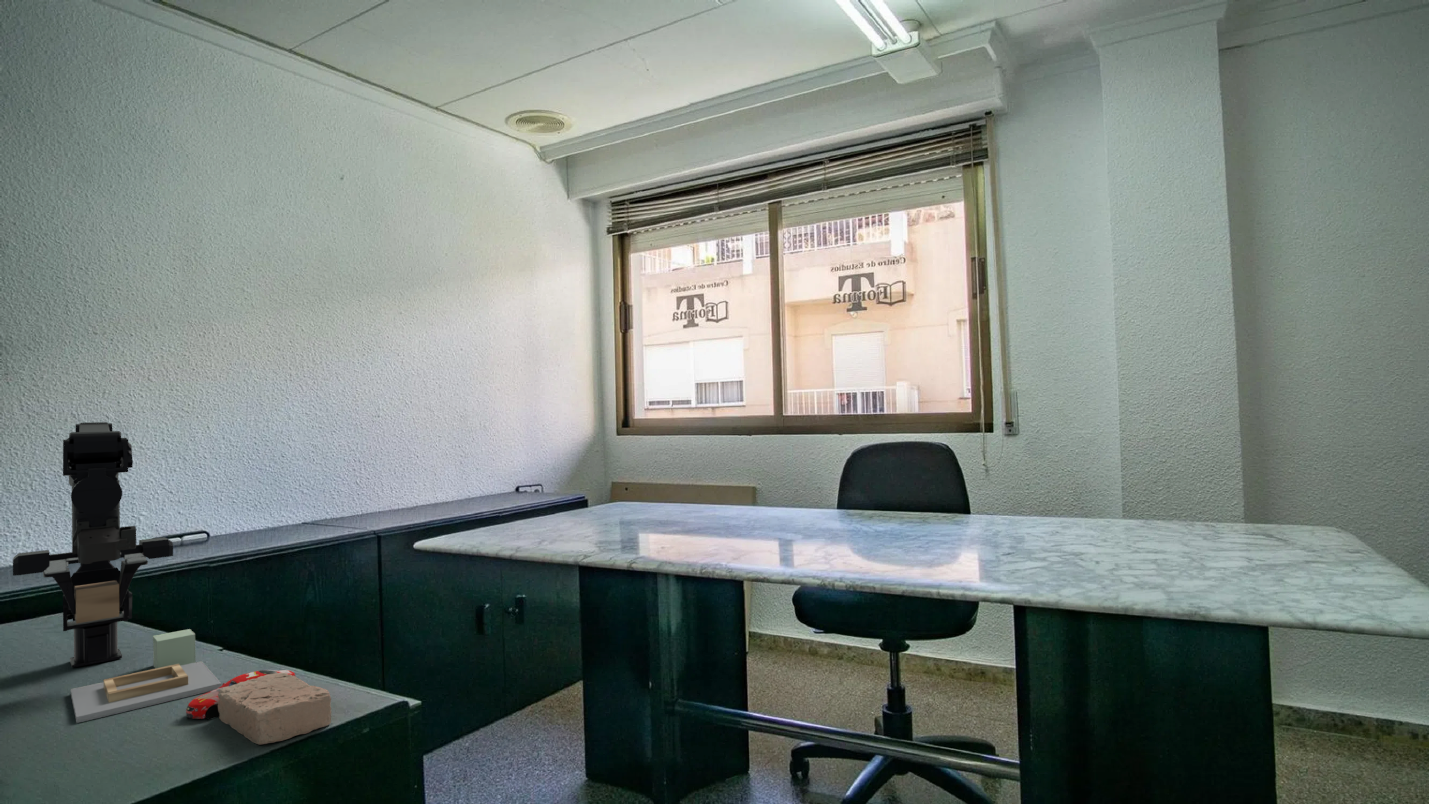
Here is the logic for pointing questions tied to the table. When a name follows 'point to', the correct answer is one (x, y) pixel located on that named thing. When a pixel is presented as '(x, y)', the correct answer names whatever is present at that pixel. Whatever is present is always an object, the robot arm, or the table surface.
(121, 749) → the table surface
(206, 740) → the table surface
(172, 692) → the baseplate
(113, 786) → the table surface
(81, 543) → the robot arm
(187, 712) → the race car
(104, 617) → the walnut block
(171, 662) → the sage block
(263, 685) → the brick
